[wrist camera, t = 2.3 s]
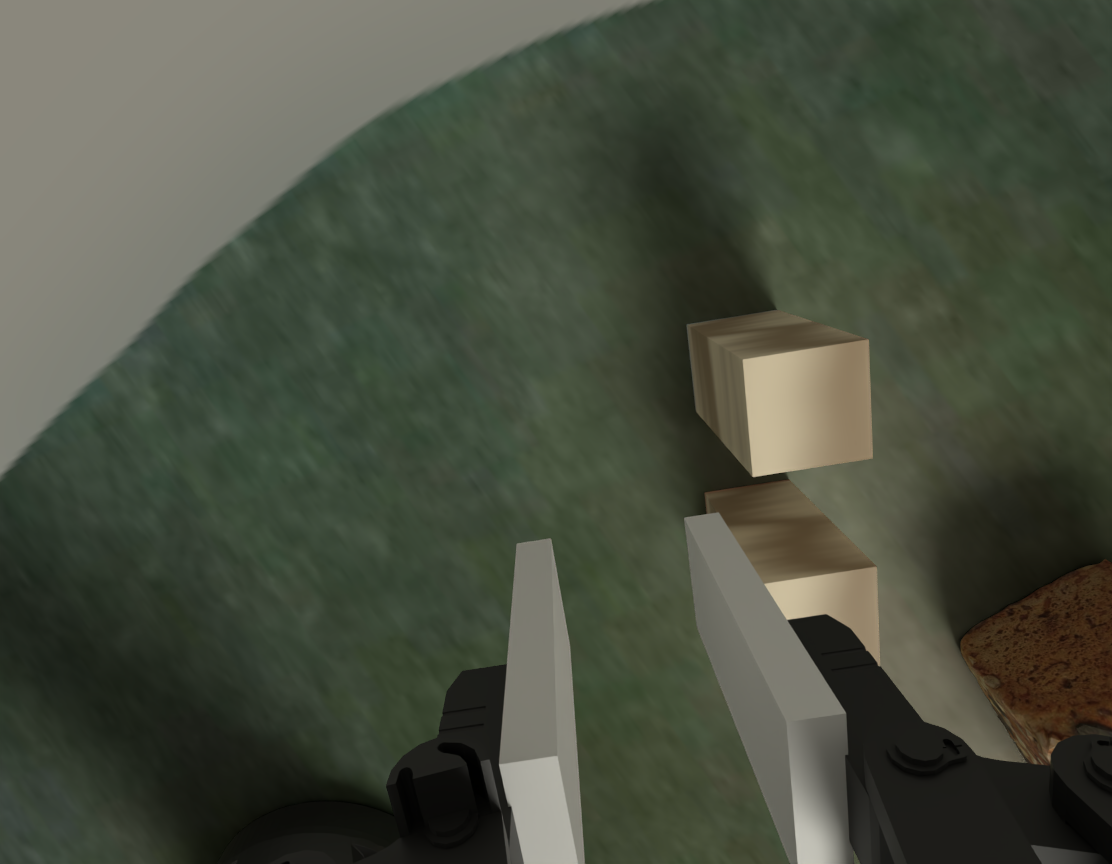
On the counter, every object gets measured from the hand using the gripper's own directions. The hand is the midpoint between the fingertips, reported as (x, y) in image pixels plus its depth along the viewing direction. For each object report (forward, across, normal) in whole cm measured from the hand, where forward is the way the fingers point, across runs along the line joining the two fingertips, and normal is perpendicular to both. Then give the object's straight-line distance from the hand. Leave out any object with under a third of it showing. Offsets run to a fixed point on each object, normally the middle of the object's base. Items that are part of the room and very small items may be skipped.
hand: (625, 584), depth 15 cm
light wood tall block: (+21, +8, -9) cm, 24 cm away
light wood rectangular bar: (+21, +8, 0) cm, 22 cm away
